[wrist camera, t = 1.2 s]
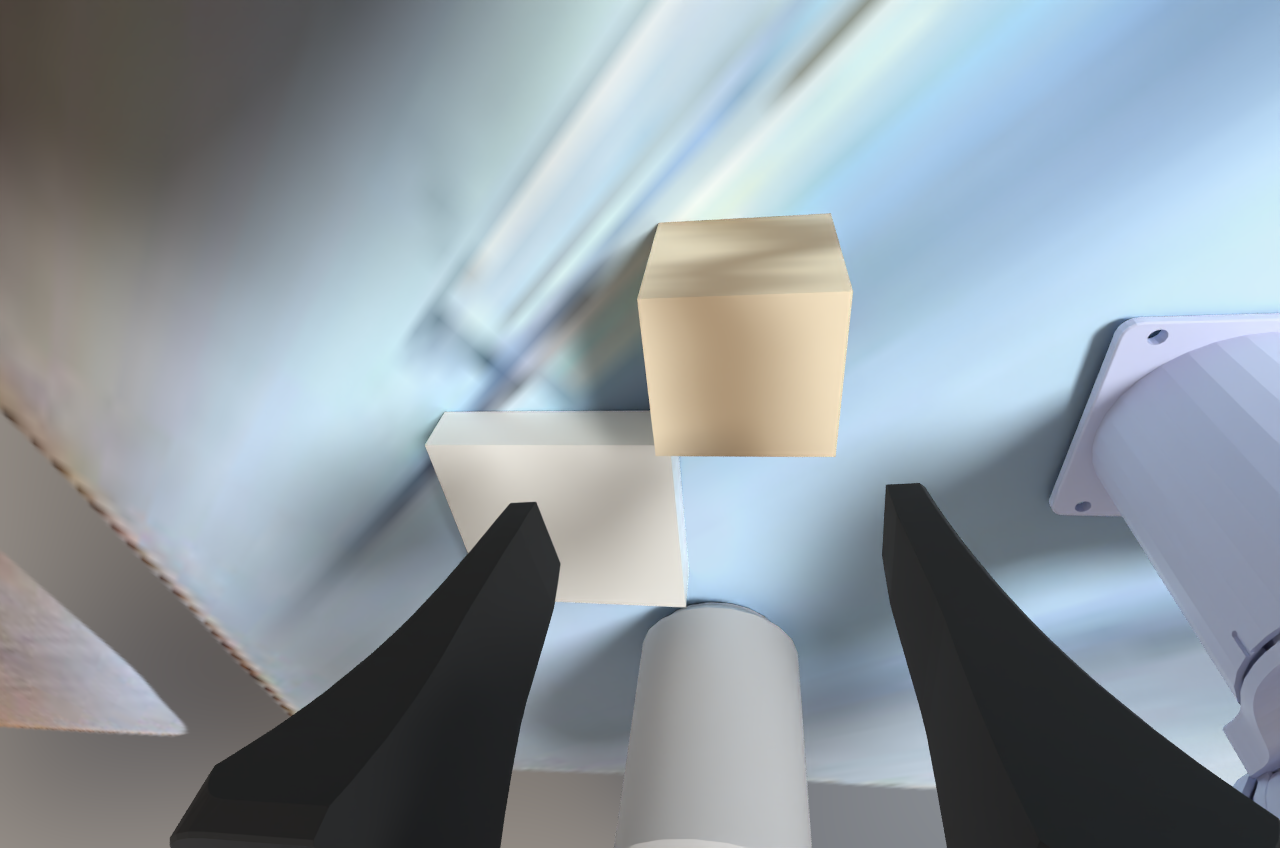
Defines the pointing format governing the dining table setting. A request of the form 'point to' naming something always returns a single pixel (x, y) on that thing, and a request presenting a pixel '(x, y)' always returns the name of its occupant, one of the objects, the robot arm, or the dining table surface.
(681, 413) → the cube
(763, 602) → the dining table surface
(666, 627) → the can
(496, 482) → the coaster
